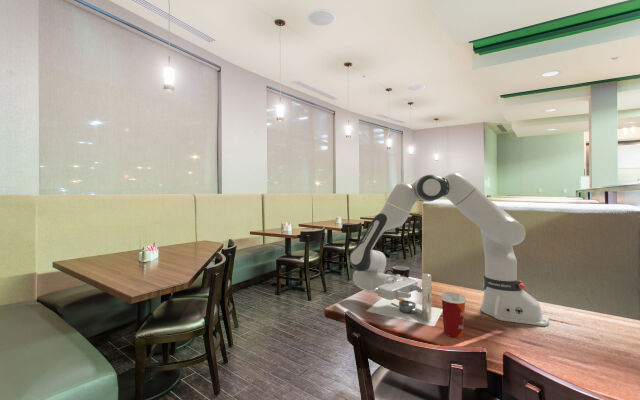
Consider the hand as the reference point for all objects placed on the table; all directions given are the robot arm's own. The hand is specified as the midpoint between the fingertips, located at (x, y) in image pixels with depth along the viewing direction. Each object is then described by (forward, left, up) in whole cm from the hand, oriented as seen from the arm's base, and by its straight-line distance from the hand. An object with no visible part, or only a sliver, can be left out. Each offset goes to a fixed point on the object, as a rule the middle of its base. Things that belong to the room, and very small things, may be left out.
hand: (416, 293), depth 110 cm
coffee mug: (+19, -38, -11) cm, 44 cm away
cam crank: (+3, -3, -9) cm, 10 cm away
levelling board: (+6, -4, -10) cm, 13 cm away
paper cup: (-14, +7, -11) cm, 19 cm away
